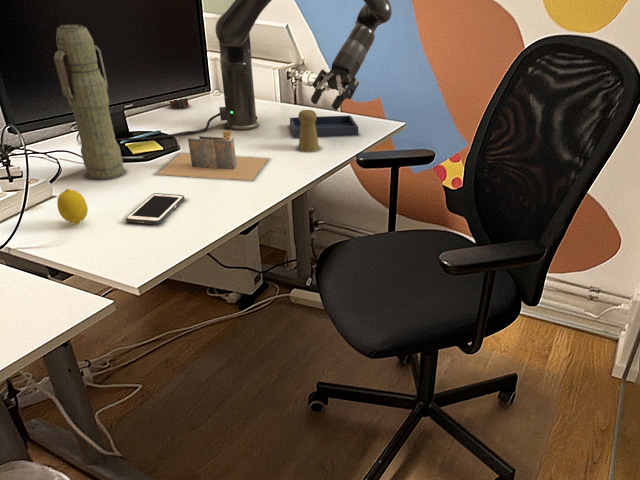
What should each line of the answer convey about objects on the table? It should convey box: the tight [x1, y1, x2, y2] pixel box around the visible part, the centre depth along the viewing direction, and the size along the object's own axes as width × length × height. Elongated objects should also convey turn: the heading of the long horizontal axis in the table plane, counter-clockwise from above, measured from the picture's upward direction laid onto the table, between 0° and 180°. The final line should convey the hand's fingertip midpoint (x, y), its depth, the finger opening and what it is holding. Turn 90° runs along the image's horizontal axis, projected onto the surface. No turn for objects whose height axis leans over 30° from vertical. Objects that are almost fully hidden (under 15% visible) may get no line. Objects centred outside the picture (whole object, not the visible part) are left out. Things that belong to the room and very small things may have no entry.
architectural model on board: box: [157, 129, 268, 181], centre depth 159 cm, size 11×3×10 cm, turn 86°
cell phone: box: [125, 192, 185, 225], centre depth 136 cm, size 8×15×1 cm, turn 175°
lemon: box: [56, 188, 89, 225], centre depth 127 cm, size 6×6×8 cm
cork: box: [298, 109, 320, 153], centre depth 174 cm, size 6×6×11 cm
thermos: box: [53, 23, 125, 181], centre depth 145 cm, size 9×12×35 cm
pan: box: [289, 115, 359, 139], centre depth 191 cm, size 20×13×3 cm, turn 105°
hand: (323, 105), depth 175 cm, fingers open, 8 cm apart
